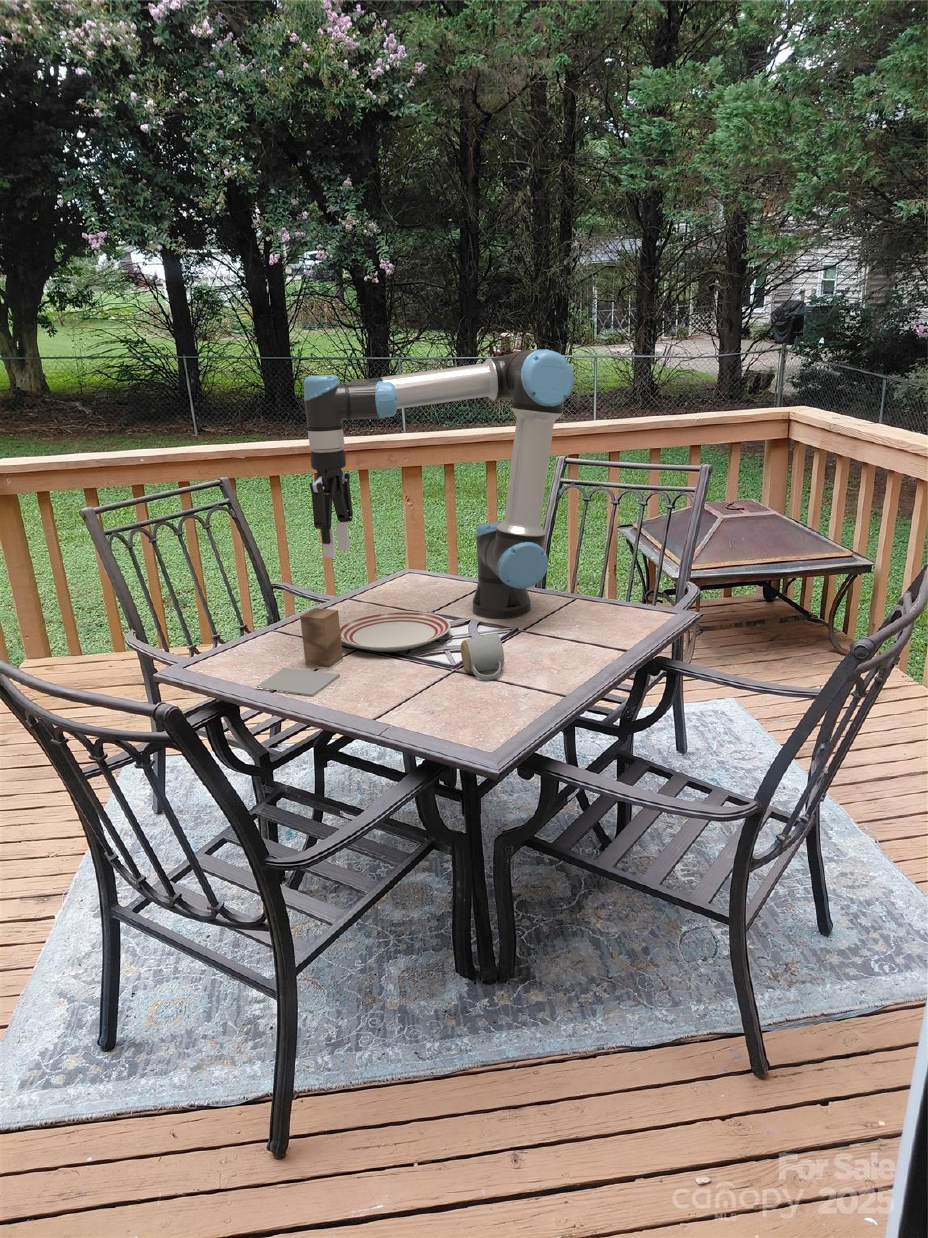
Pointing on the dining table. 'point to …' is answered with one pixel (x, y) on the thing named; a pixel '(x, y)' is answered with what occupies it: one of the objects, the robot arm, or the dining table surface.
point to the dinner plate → (393, 630)
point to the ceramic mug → (483, 655)
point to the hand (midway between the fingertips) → (337, 553)
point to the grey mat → (298, 681)
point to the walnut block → (321, 638)
